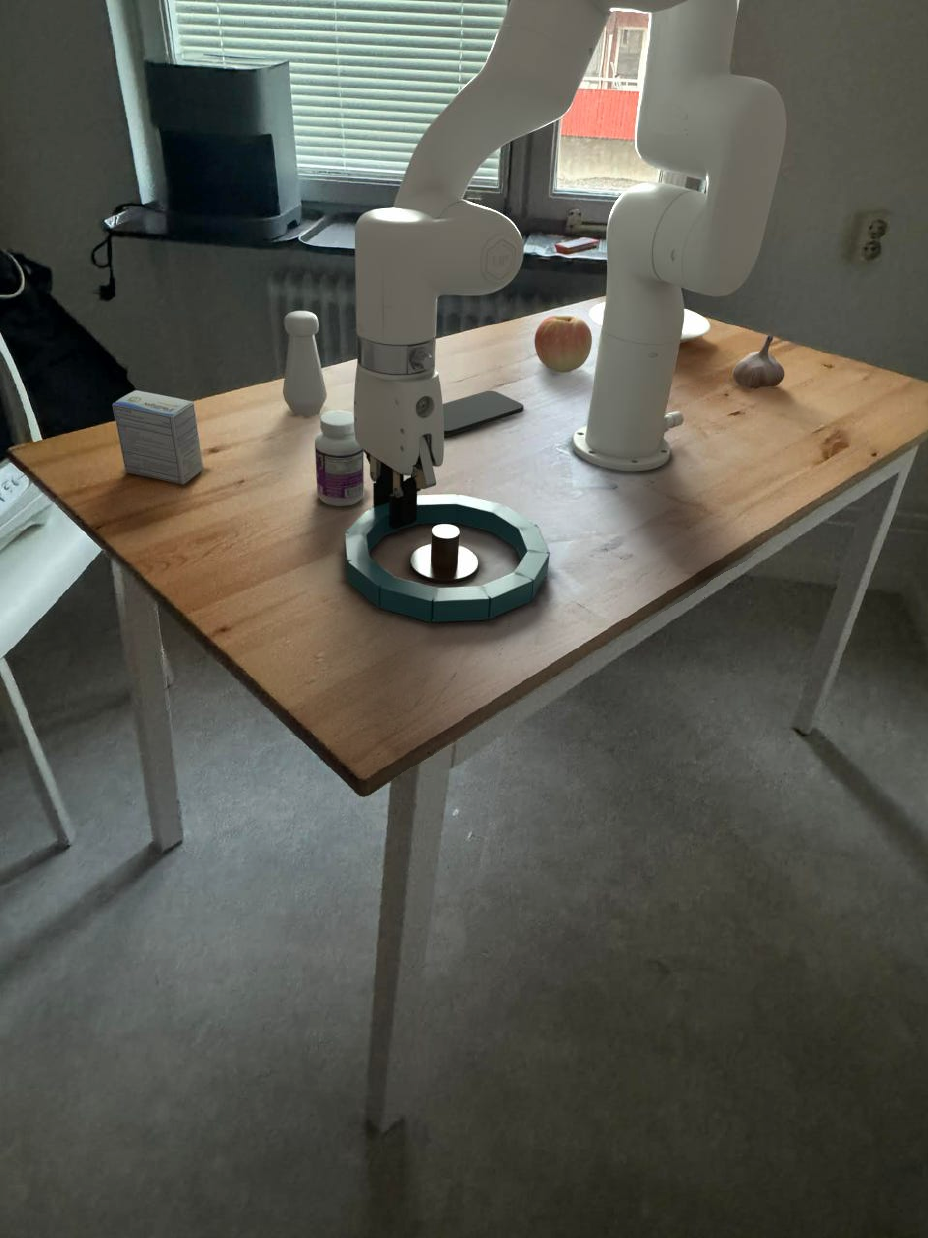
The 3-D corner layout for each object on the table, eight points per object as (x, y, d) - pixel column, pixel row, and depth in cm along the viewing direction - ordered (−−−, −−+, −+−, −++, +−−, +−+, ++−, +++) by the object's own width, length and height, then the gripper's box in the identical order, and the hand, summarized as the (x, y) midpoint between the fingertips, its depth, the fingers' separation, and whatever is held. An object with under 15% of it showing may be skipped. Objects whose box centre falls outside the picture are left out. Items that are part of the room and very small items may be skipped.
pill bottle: (318, 484, 103) (314, 406, 97) (364, 485, 103) (363, 407, 98) (316, 507, 99) (312, 426, 93) (364, 508, 99) (363, 427, 93)
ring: (461, 496, 102) (462, 478, 101) (585, 577, 90) (588, 557, 88) (308, 548, 91) (307, 528, 90) (425, 647, 79) (426, 626, 78)
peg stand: (449, 540, 95) (451, 507, 92) (492, 570, 90) (495, 536, 88) (396, 559, 91) (396, 525, 89) (437, 591, 87) (439, 557, 84)
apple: (551, 381, 134) (557, 328, 129) (521, 361, 140) (526, 310, 135) (598, 374, 137) (606, 323, 132) (567, 355, 143) (574, 305, 139)
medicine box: (204, 470, 104) (195, 400, 99) (183, 486, 101) (172, 415, 96) (147, 457, 106) (135, 388, 101) (124, 473, 103) (110, 402, 97)
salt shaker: (318, 421, 117) (314, 323, 109) (277, 415, 118) (270, 317, 110) (332, 405, 122) (330, 309, 114) (293, 399, 123) (287, 304, 115)
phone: (409, 413, 119) (491, 388, 127) (409, 419, 119) (490, 394, 128) (445, 432, 115) (527, 406, 123) (445, 438, 115) (526, 411, 123)
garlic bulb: (785, 384, 139) (800, 333, 134) (772, 398, 133) (786, 346, 129) (738, 372, 142) (751, 322, 137) (723, 386, 136) (736, 334, 132)
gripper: (479, 370, 82) (468, 541, 93) (381, 321, 92) (381, 481, 102) (413, 386, 78) (410, 562, 89) (318, 333, 88) (325, 498, 98)
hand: (395, 517), depth 96 cm, fingers closed on ring, 2 cm apart
